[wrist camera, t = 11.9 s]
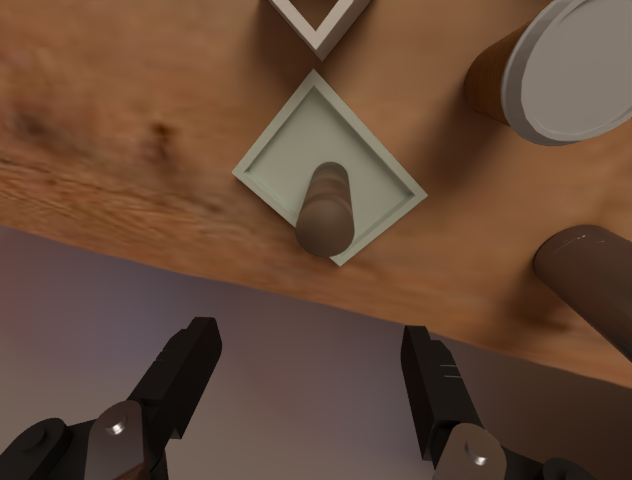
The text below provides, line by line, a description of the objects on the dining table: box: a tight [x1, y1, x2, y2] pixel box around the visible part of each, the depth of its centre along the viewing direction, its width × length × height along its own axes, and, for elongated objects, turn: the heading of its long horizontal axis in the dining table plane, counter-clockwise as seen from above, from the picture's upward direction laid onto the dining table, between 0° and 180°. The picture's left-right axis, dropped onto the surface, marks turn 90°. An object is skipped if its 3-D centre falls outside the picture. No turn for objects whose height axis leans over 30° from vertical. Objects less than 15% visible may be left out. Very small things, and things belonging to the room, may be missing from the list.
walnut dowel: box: [295, 162, 355, 257], centre depth 26 cm, size 4×4×14 cm
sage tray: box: [232, 68, 428, 266], centre depth 32 cm, size 18×14×2 cm
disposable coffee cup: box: [465, 0, 632, 146], centre depth 22 cm, size 10×10×12 cm
